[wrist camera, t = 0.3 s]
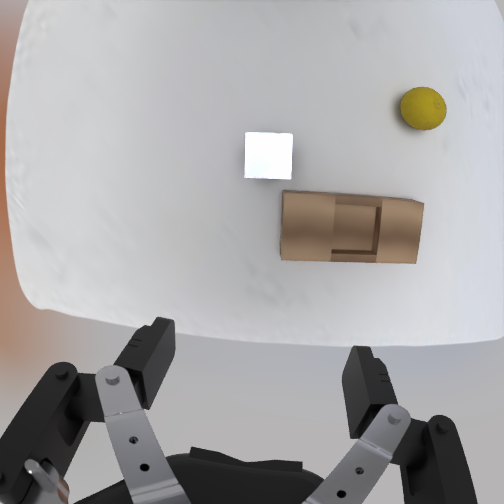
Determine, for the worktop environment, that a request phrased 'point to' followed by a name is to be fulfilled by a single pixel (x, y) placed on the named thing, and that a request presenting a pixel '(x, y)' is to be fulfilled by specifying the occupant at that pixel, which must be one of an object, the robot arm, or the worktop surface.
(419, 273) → the worktop surface
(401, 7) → the worktop surface
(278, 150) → the block
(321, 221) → the wooden slotted base
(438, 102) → the lemon
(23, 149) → the worktop surface
